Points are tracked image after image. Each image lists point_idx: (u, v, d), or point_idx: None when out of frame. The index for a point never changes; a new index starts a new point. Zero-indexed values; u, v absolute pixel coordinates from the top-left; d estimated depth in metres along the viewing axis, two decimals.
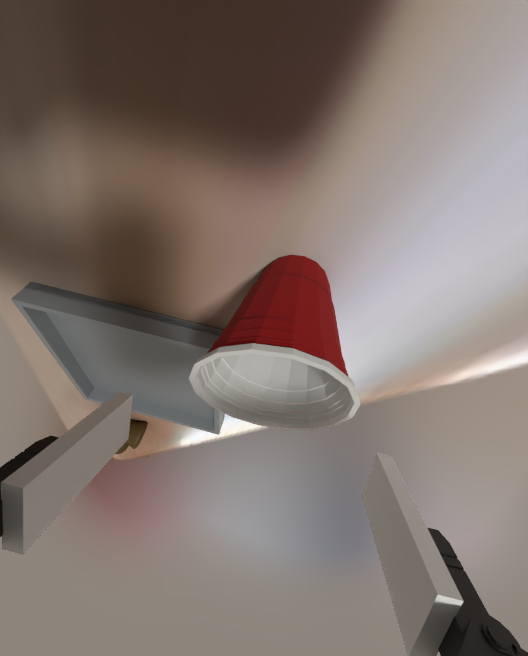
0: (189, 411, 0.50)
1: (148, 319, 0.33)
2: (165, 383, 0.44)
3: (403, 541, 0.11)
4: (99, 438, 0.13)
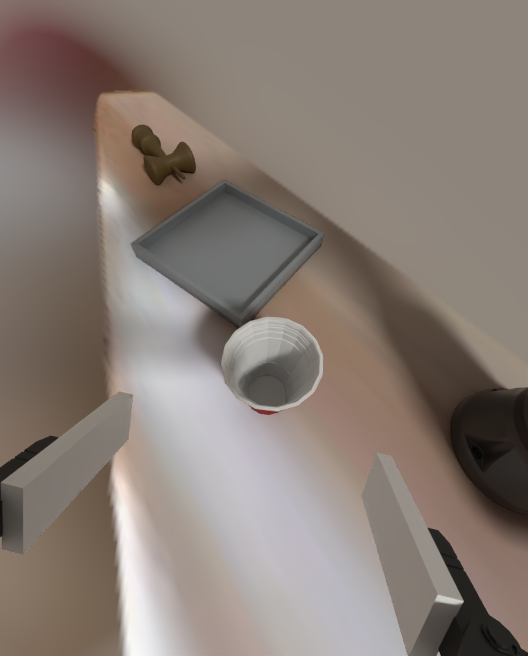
0: (165, 238, 0.54)
1: (276, 290, 0.49)
2: (210, 249, 0.53)
3: (403, 541, 0.11)
4: (99, 438, 0.13)
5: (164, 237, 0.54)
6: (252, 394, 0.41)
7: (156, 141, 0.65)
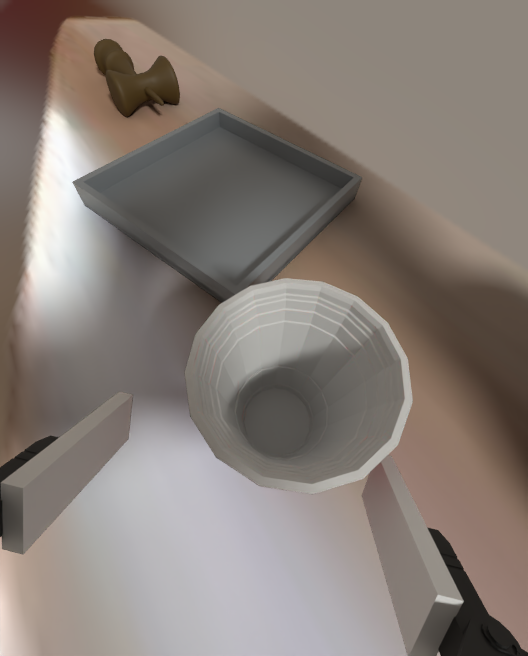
0: (128, 180, 0.37)
1: (291, 255, 0.32)
2: (193, 196, 0.36)
3: (403, 541, 0.11)
4: (99, 438, 0.13)
5: (128, 179, 0.37)
6: (252, 421, 0.24)
7: (127, 60, 0.48)
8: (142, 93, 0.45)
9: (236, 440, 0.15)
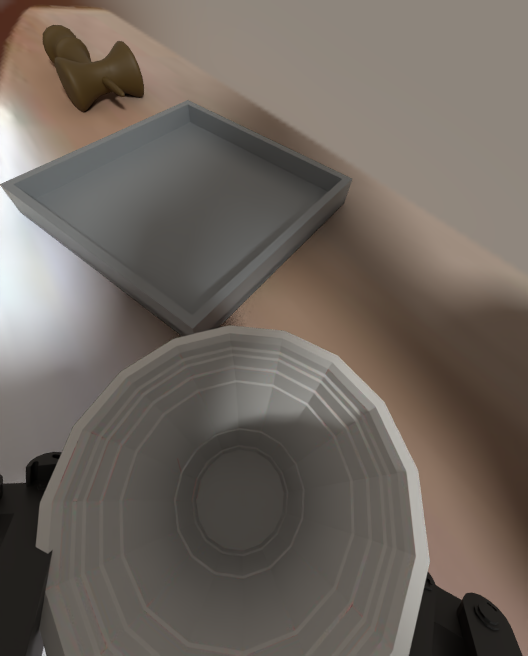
0: (76, 182, 0.31)
1: (266, 272, 0.26)
2: (152, 202, 0.30)
3: None
4: None
5: (75, 181, 0.31)
6: (207, 499, 0.18)
7: (81, 48, 0.42)
8: (99, 84, 0.39)
9: (140, 599, 0.09)
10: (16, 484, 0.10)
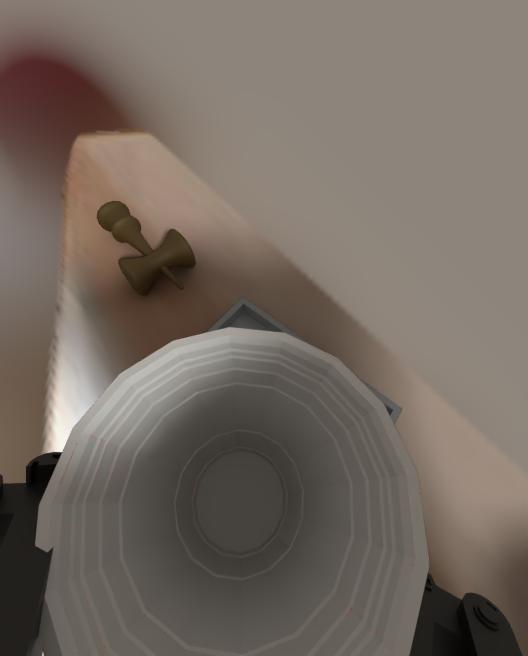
0: None
1: None
2: None
3: None
4: None
5: None
6: (207, 500, 0.18)
7: (134, 225, 0.45)
8: (158, 271, 0.42)
9: (139, 602, 0.09)
10: (16, 484, 0.10)
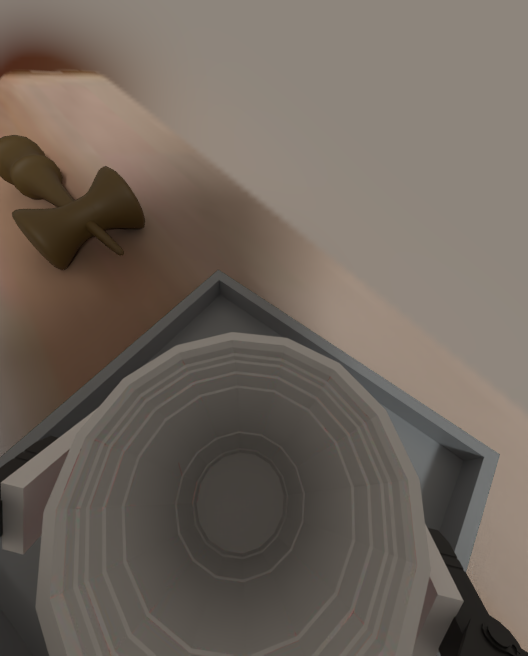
0: None
1: None
2: None
3: None
4: None
5: None
6: (208, 501, 0.18)
7: (48, 169, 0.30)
8: (83, 232, 0.27)
9: (143, 605, 0.09)
10: None
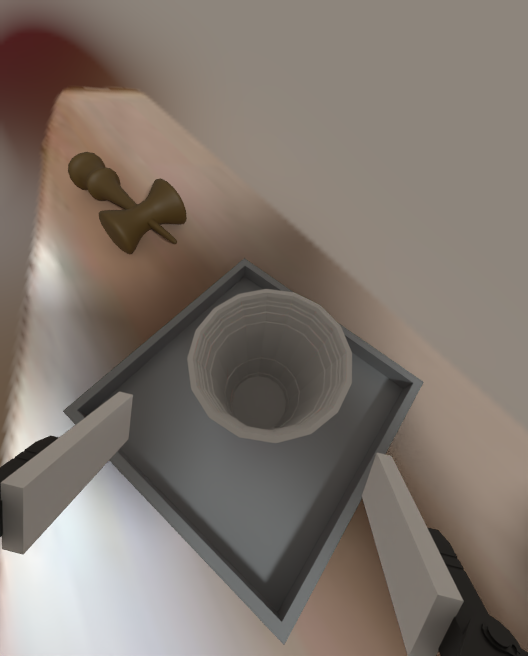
0: (135, 379, 0.29)
1: None
2: None
3: (403, 541, 0.11)
4: (99, 438, 0.13)
5: (134, 378, 0.29)
6: (239, 402, 0.29)
7: (113, 178, 0.40)
8: (145, 226, 0.38)
9: (224, 410, 0.20)
10: None
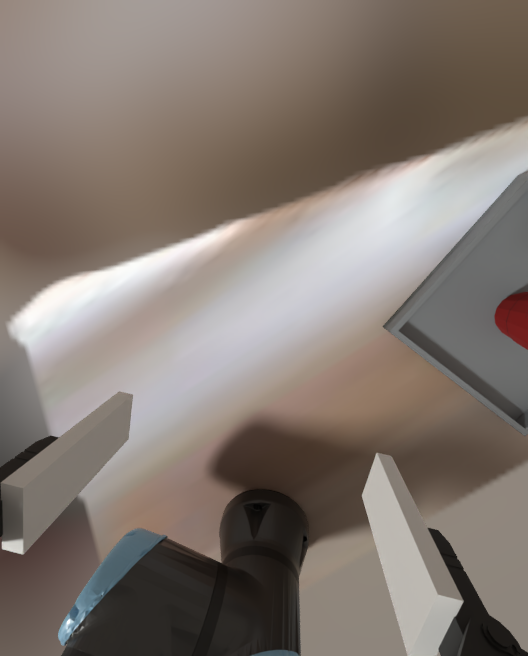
0: None
1: None
2: (517, 282, 0.38)
3: (403, 541, 0.11)
4: (99, 438, 0.13)
5: None
6: None
7: None
8: None
9: None
10: None
